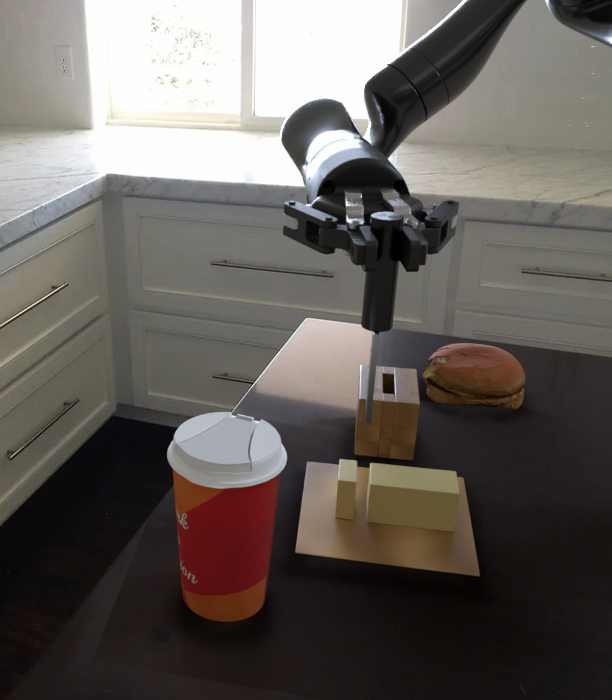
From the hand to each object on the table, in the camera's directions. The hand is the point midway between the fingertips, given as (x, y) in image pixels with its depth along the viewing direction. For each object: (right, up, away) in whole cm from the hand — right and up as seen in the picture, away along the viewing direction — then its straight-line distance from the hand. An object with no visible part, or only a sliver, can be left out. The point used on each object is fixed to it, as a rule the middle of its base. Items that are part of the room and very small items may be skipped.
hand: (393, 257), depth 57 cm
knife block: (+5, -15, +22) cm, 28 cm away
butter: (+4, -19, +11) cm, 22 cm away
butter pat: (0, -19, +12) cm, 22 cm away
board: (+3, -20, +12) cm, 24 cm away
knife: (0, -11, +8) cm, 14 cm away
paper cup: (-11, -25, +4) cm, 27 cm away
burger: (+17, -11, +32) cm, 38 cm away
